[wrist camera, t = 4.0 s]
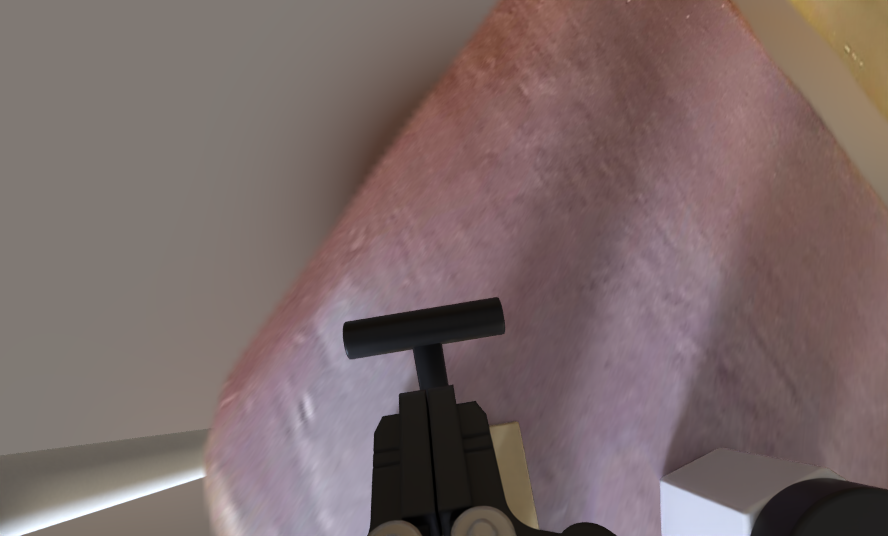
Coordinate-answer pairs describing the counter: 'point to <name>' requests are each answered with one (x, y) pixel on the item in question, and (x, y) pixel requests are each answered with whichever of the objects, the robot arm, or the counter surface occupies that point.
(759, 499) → the jar
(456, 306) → the lever
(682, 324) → the counter surface
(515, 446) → the bracket
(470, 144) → the counter surface
